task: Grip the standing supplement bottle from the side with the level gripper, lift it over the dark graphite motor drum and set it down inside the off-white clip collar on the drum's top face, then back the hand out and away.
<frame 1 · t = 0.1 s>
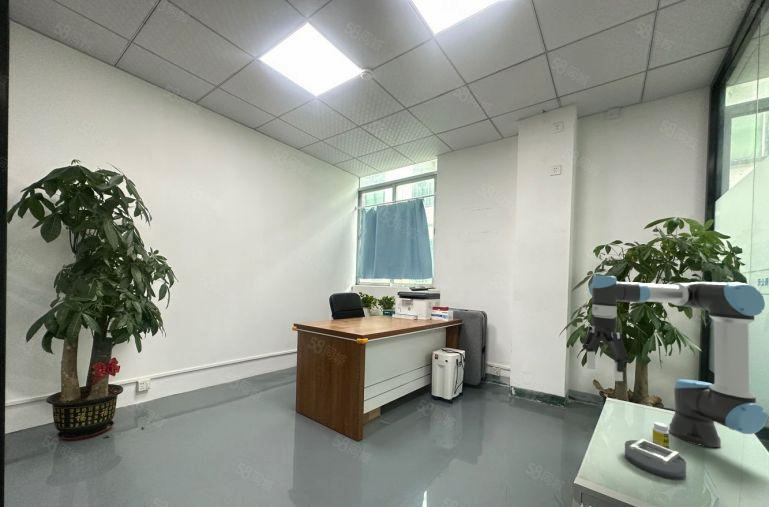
hand: (603, 374, 115), 28 cm above the table, tool pointing down, fingers open, 13 cm apart
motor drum: (653, 464, 107), on the table
supplement bottle: (660, 447, 120), on the table
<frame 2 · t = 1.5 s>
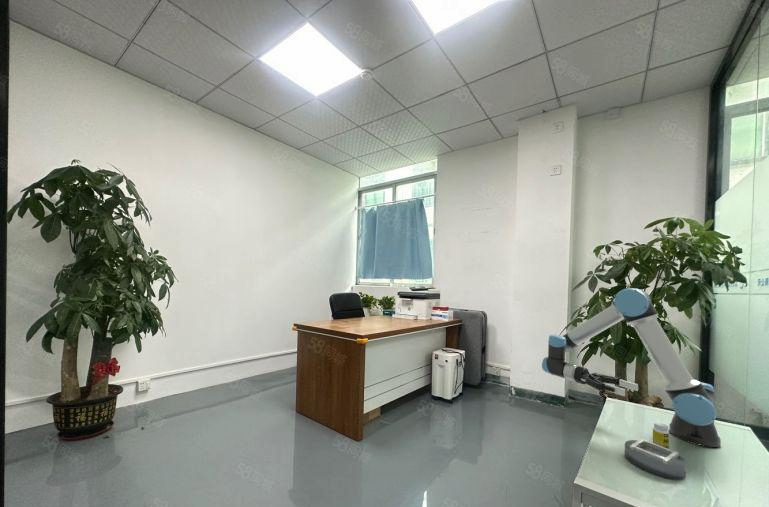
hand: (631, 390, 129), 18 cm above the table, tool horizontal, fingers open, 13 cm apart
nothing on the table moved.
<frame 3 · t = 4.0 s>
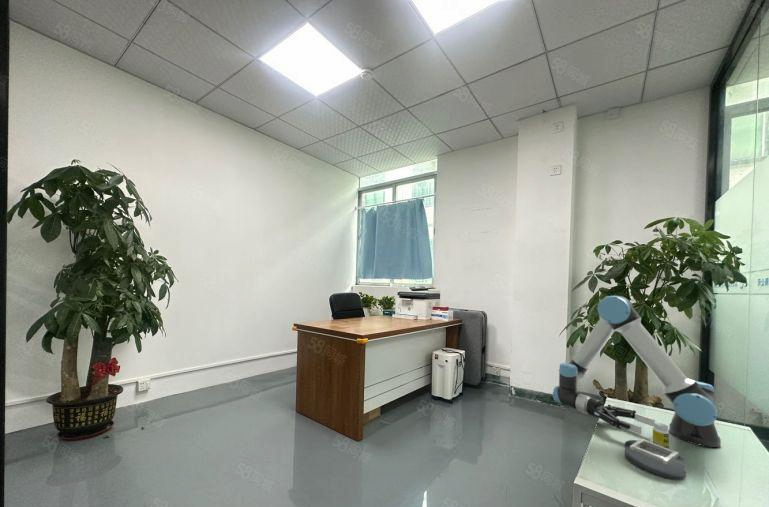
hand: (648, 426, 123), 6 cm above the table, tool horizontal, fingers open, 13 cm apart
nothing on the table moved.
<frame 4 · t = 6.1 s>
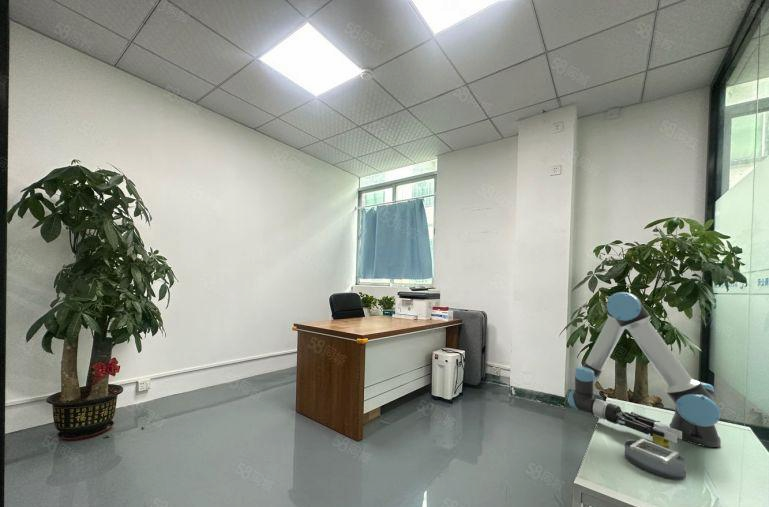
hand: (678, 437, 116), 6 cm above the table, tool horizontal, fingers closed on supplement bottle, 5 cm apart
supplement bottle: (660, 447, 120), on the table, touching gripper
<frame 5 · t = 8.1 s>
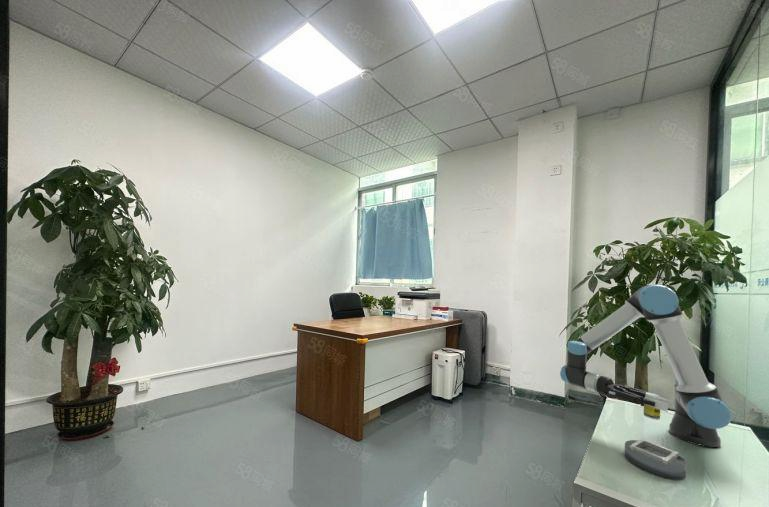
hand: (670, 406, 113), 18 cm above the table, tool horizontal, fingers closed on supplement bottle, 5 cm apart
supplement bottle: (651, 417, 117), point 12 cm above the table, touching gripper
when the fingers open (11 cm above the table, at t = 10.2 s): supplement bottle drops 1 cm, resting on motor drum.
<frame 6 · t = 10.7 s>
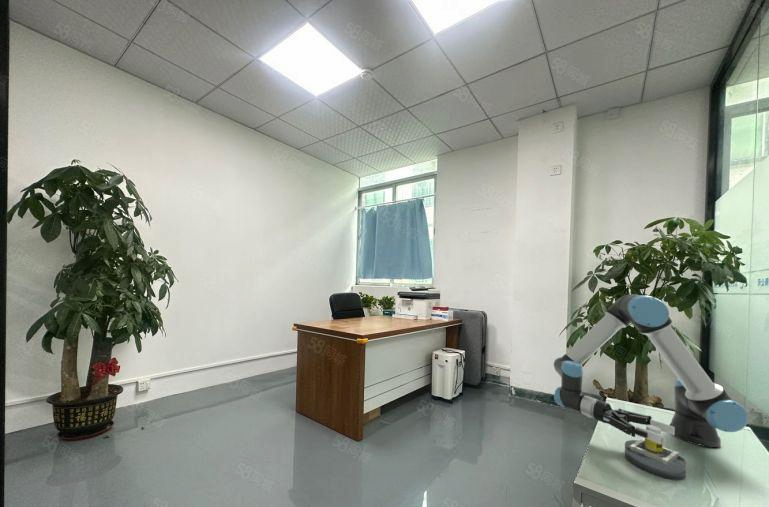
hand: (667, 435, 105), 12 cm above the table, tool horizontal, fingers open, 12 cm apart
supplement bottle: (653, 452, 108), point 4 cm above the table, touching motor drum
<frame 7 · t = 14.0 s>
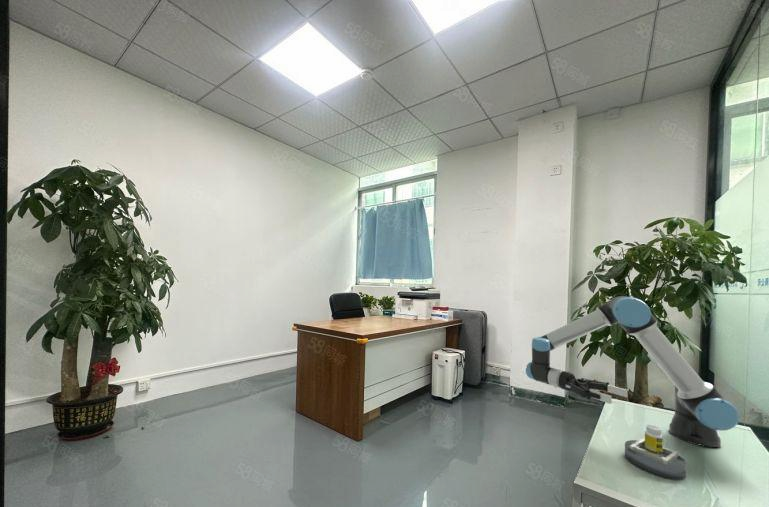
hand: (619, 396, 117), 19 cm above the table, tool horizontal, fingers open, 13 cm apart
nothing on the table moved.
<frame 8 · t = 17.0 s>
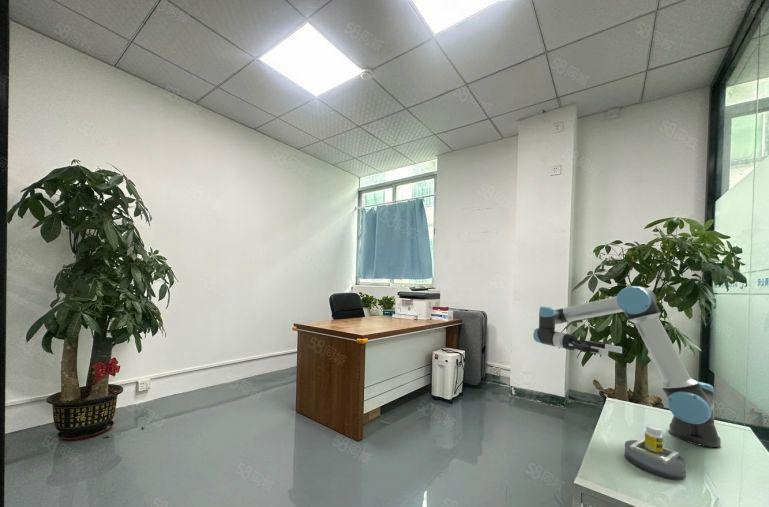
hand: (615, 351, 137), 32 cm above the table, tool horizontal, fingers open, 13 cm apart
nothing on the table moved.
at the end: supplement bottle 0.1 cm off-centre on the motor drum, point 3.8 cm above the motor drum's base; supplement bottle tilted 0°; the gripper is holding nothing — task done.
